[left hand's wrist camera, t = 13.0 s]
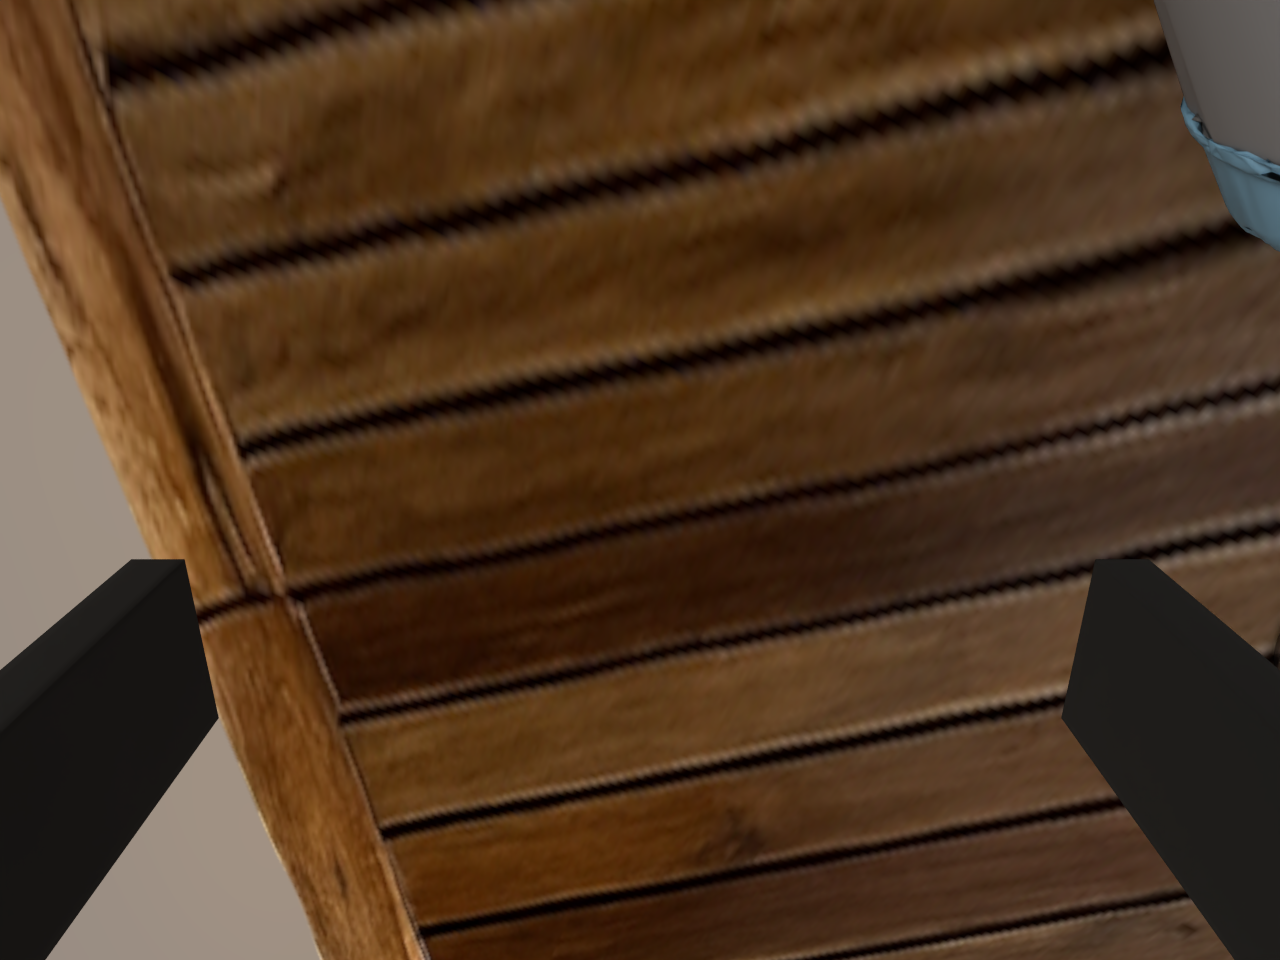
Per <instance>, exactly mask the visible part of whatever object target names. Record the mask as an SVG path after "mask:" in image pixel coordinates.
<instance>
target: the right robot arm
mask: <svg viewBox="0 0 1280 960" xmlns="http://www.w3.org/2000/svg"><path fill="white" fill-rule="evenodd" d="M1274 666H1275V667H1277V668H1278V669H1279V670H1280V635H1279V637H1278V640H1277V643H1276V647H1275V652H1274Z"/></svg>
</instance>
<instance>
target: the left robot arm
mask: <svg viewBox="0 0 1280 960" xmlns="http://www.w3.org/2000/svg"><path fill="white" fill-rule="evenodd" d="M1154 3H1155V6H1156V9H1157V13H1158V16H1159V19H1160V22H1161V25H1162V28H1163V32H1164V35H1165V38H1166V41H1167V44H1168V48H1169V51H1170V54H1171V57H1172V60H1173V63H1174V67H1175V70H1176V73H1177V76H1178V79H1179V82H1180V86H1181V89H1182V92H1183V95H1184V97H1183V100H1182V104H1181V111H1182V114H1183V117H1184V121H1185V125H1186V126H1187V128H1188V130H1189V132H1190V133H1191V135H1192V137H1193V138H1194V139H1195V140H1196V141H1197V142H1198V143H1199V144H1201V145H1202V146H1203V147H1204V150H1205V152H1206V155H1207V158H1208V160H1209V163H1210V165H1211V168H1212V170H1213V173H1214V175H1215V178H1216V181H1217V183H1218V186H1219V189H1220V191H1221V194H1222V197H1223V199H1224V202H1225V204H1226V206H1227V208H1228V210H1229V212H1230V214H1231V215H1232V216H1233V218H1234V219H1235V220H1236V222H1237V223H1238V224H1239V225H1240V226H1241V228H1243V229H1244V230H1245V231H1246V232H1248V233H1250V234H1252V235H1254V236H1256V237H1258V238H1260V239H1262V240H1263V241H1264V242H1265V243H1267V244H1269V245H1270V246H1272V247H1273V248H1274V249H1275V250H1277V251H1279V252H1280V0H1154ZM218 718H219V717H218V713H217V708H216V703H215V699H214V694H213V690H212V685H211V680H210V676H209V671H208V666H207V662H206V657H205V652H204V648H203V643H202V638H201V634H200V629H199V624H198V620H197V615H196V611H195V606H194V601H193V597H192V592H191V587H190V583H189V578H188V573H187V569H186V564H185V559H131V560H130V561H129V562H128V563H127V564H125V565H124V566H123V567H122V568H121V569H119V570H118V571H117V572H116V573H115V574H114V575H112V576H111V577H110V578H109V579H108V580H106V581H105V582H104V583H103V584H102V585H101V586H99V587H98V588H97V589H96V590H95V591H93V592H92V593H91V594H90V595H89V596H87V597H86V598H85V599H84V600H83V601H82V602H80V603H79V604H78V605H77V606H76V607H74V608H73V609H72V610H71V611H70V612H69V613H67V614H66V615H65V616H64V617H63V618H61V619H60V620H59V621H58V622H57V623H56V624H54V625H53V626H52V627H51V628H50V629H48V630H47V631H46V632H45V633H44V634H43V635H41V636H40V637H39V638H38V639H37V640H36V641H34V642H33V643H32V644H31V645H29V646H28V647H27V648H26V649H25V650H24V651H22V652H21V653H20V654H19V655H18V656H17V657H15V658H14V659H13V660H12V661H11V662H9V663H8V664H7V665H6V666H5V667H3V668H2V669H1V670H0V960H45V959H46V958H47V957H48V955H49V954H50V953H51V951H52V950H53V948H54V947H55V945H56V944H57V943H58V941H59V940H60V939H61V937H62V936H63V934H64V933H65V932H66V930H67V929H68V927H69V926H70V925H71V923H72V922H73V920H74V919H75V918H76V916H77V915H78V913H79V912H80V911H81V909H82V908H83V906H84V905H85V904H86V902H87V901H88V899H89V898H90V897H91V895H92V894H93V893H94V891H95V890H96V888H97V887H98V886H99V884H100V883H101V881H102V880H103V879H104V877H105V876H106V874H107V873H108V872H109V870H110V869H111V867H112V866H113V865H114V863H115V862H116V860H117V859H118V858H119V856H120V855H121V853H122V852H123V851H124V849H125V848H126V846H127V845H128V844H129V842H130V841H131V839H132V838H133V837H134V835H135V834H136V833H137V831H138V830H139V828H140V827H141V826H142V824H143V823H144V821H145V820H146V819H147V817H148V816H149V814H150V813H151V812H152V810H153V809H154V807H155V806H156V805H157V803H158V802H159V800H160V799H161V798H162V796H163V795H164V793H165V792H166V791H167V789H168V788H169V786H170V785H171V784H172V782H173V781H174V779H175V778H176V777H177V775H178V774H179V772H180V771H181V770H182V768H183V767H184V766H185V764H186V763H187V761H188V760H189V759H190V757H191V756H192V754H193V753H194V752H195V750H196V749H197V747H198V746H199V745H200V743H201V742H202V740H203V739H204V738H205V736H206V735H207V733H208V732H209V731H210V729H211V728H212V726H213V725H214V724H215V722H216V721H217V719H218ZM1061 718H1062V719H1063V721H1064V722H1065V724H1066V725H1067V726H1068V728H1069V729H1070V731H1071V732H1072V733H1073V735H1074V736H1075V738H1076V739H1077V740H1078V742H1079V743H1080V745H1081V746H1082V747H1083V749H1084V750H1085V752H1086V753H1087V754H1088V756H1089V757H1090V759H1091V760H1092V761H1093V763H1094V764H1095V766H1096V767H1097V768H1098V770H1099V771H1100V773H1101V774H1102V775H1103V777H1104V778H1105V779H1106V781H1107V782H1108V784H1109V785H1110V786H1111V788H1112V789H1113V791H1114V792H1115V793H1116V795H1117V796H1118V798H1119V799H1120V800H1121V802H1122V803H1123V805H1124V806H1125V807H1126V809H1127V810H1128V812H1129V813H1130V814H1131V816H1132V817H1133V819H1134V820H1135V821H1136V823H1137V824H1138V826H1139V827H1140V828H1141V830H1142V831H1143V833H1144V834H1145V835H1146V837H1147V838H1148V839H1149V841H1150V842H1151V844H1152V845H1153V846H1154V848H1155V849H1156V851H1157V852H1158V853H1159V855H1160V856H1161V858H1162V859H1163V860H1164V862H1165V863H1166V865H1167V866H1168V867H1169V869H1170V870H1171V872H1172V873H1173V874H1174V876H1175V877H1176V879H1177V880H1178V881H1179V883H1180V884H1181V886H1182V887H1183V888H1184V890H1185V891H1186V893H1187V894H1188V895H1189V897H1190V898H1191V900H1192V901H1193V902H1194V904H1195V905H1196V906H1197V908H1198V909H1199V911H1200V912H1201V913H1202V915H1203V916H1204V918H1205V919H1206V920H1207V922H1208V923H1209V925H1210V926H1211V927H1212V929H1213V930H1214V932H1215V933H1216V934H1217V936H1218V937H1219V939H1220V940H1221V941H1222V943H1223V944H1224V946H1225V947H1226V948H1227V950H1228V951H1229V953H1230V954H1231V955H1232V957H1233V958H1234V960H1280V670H1279V669H1278V668H1277V667H1275V666H1274V665H1273V664H1272V663H1271V662H1269V661H1268V660H1267V659H1266V658H1265V657H1264V656H1262V655H1261V654H1260V653H1259V652H1258V651H1256V650H1255V649H1254V648H1253V647H1252V646H1251V645H1249V644H1248V643H1247V642H1246V641H1245V640H1243V639H1242V638H1241V637H1240V636H1239V635H1237V634H1236V633H1235V632H1234V631H1233V630H1232V629H1230V628H1229V627H1228V626H1227V625H1226V624H1224V623H1223V622H1222V621H1221V620H1220V619H1219V618H1217V617H1216V616H1215V615H1214V614H1213V613H1211V612H1210V611H1209V610H1208V609H1207V608H1206V607H1204V606H1203V605H1202V604H1201V603H1200V602H1198V601H1197V600H1196V599H1195V598H1194V597H1192V596H1191V595H1190V594H1189V593H1188V592H1187V591H1185V590H1184V589H1183V588H1182V587H1181V586H1179V585H1178V584H1177V583H1176V582H1175V581H1174V580H1172V579H1171V578H1170V577H1169V576H1168V575H1166V574H1165V573H1164V572H1163V571H1162V570H1161V569H1159V568H1158V567H1157V566H1156V565H1155V564H1153V563H1152V562H1151V561H1150V560H1149V559H1095V564H1094V569H1093V573H1092V578H1091V583H1090V587H1089V592H1088V597H1087V601H1086V606H1085V611H1084V615H1083V620H1082V624H1081V629H1080V634H1079V638H1078V643H1077V648H1076V652H1075V657H1074V662H1073V666H1072V671H1071V676H1070V680H1069V685H1068V690H1067V694H1066V699H1065V703H1064V708H1063V713H1062V717H1061Z"/></svg>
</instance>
